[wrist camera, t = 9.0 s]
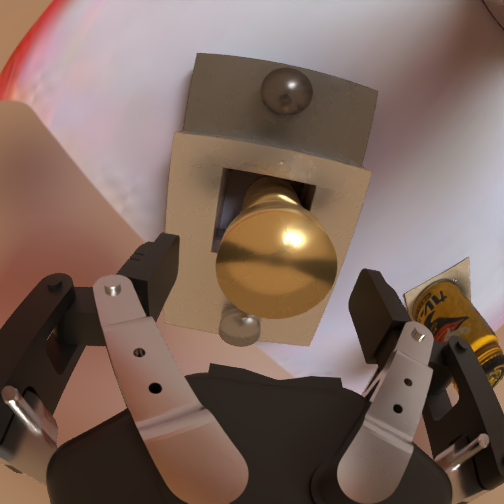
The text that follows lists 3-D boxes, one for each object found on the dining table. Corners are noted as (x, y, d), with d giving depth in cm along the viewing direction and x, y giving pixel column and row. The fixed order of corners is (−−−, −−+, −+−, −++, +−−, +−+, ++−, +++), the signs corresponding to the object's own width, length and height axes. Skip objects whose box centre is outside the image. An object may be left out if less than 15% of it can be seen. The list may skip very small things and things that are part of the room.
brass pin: (312, 176, 20) (353, 227, 11) (296, 239, 22) (316, 325, 13) (242, 162, 19) (224, 202, 10) (231, 227, 22) (209, 309, 13)
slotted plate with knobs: (368, 93, 16) (401, 87, 11) (303, 316, 25) (311, 359, 21) (203, 58, 16) (182, 39, 11) (176, 294, 25) (158, 335, 20)
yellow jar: (403, 293, 24) (457, 387, 13) (468, 255, 22) (536, 328, 11) (412, 336, 27) (451, 420, 16) (469, 303, 25) (519, 374, 14)
